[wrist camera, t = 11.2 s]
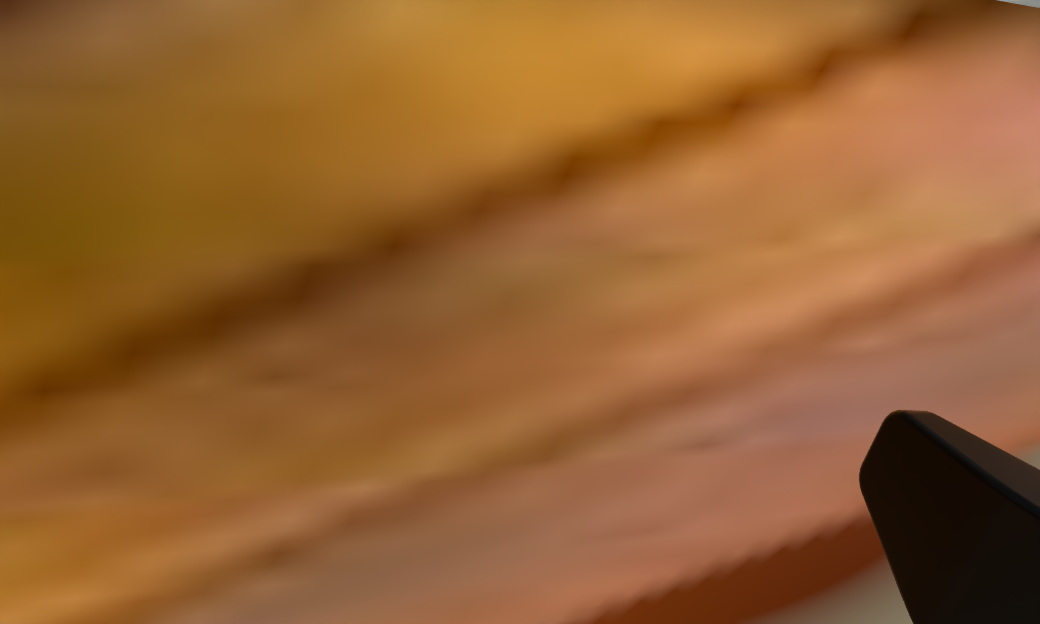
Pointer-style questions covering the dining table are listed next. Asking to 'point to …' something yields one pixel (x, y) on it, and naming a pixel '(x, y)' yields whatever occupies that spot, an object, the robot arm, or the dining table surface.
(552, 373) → the dining table surface
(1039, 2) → the grey storage tray
